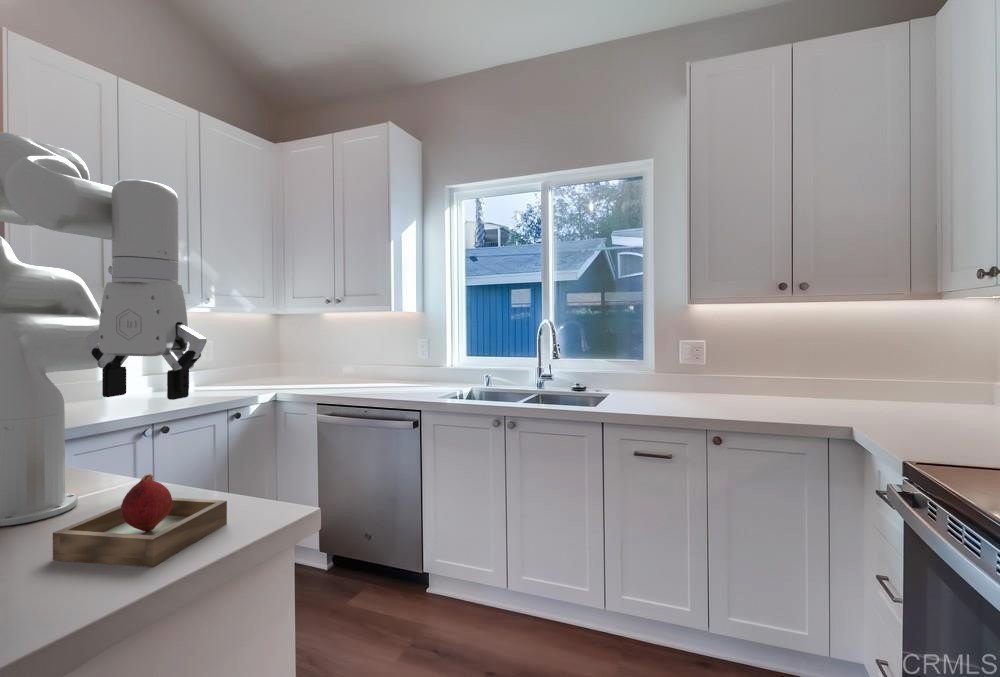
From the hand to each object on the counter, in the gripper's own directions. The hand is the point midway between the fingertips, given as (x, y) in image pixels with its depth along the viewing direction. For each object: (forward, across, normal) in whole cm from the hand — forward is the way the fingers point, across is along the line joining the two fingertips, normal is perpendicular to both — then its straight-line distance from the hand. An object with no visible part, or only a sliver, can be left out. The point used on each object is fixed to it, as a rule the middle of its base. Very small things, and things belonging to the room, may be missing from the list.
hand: (146, 397), depth 70 cm
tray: (+20, 0, 0) cm, 20 cm away
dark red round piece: (+19, 0, 0) cm, 19 cm away
